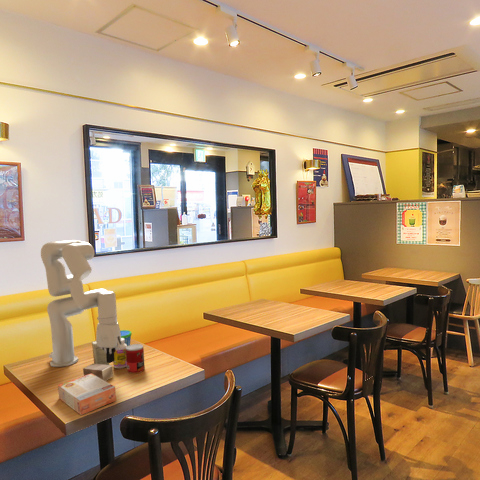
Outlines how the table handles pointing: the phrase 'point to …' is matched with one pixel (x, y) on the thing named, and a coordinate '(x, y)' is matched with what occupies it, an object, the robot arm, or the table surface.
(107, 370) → the walnut block
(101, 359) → the skincare box
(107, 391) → the cracker box
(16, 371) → the table surface
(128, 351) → the canned food
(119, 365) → the supplement bottle
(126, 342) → the snack cup
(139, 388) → the table surface
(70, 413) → the table surface
